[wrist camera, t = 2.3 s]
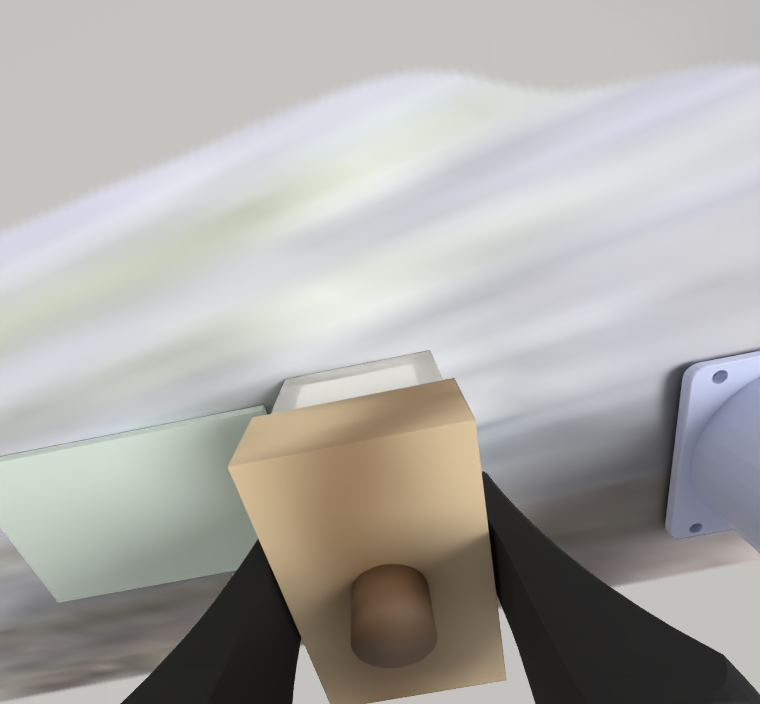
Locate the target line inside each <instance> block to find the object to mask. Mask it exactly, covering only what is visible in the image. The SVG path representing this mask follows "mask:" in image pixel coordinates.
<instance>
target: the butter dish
mask: <svg viewBox="0 0 760 704" xmlns="http://www.w3.org/2000/svg"><path fill="white" fill-rule="evenodd" d="M441 380H443V379H442V377H441V374H440V372H439V370H438V367H437V365H436V363H435V361H434V358H433V356H432V354H431V351H425V352H420V353H415V354H410V355H404V356H399V357H394V358H389V359H384V360H379V361H374V362H369V363H364V364H359V365H354V366H349V367H344V368H339V369H334V370H329V371H324V372H319V373H314V374H309V375H304V376H299V377H294V378H289V379H285V381H284V383H283V386H282V388H281V390H280V393H279V395H278V398H277V400H276V402H275V405H274V407H273V409H272V412H271V414H273V413H278V412H283V411H288V410H293V409H298V408H303V407H308V406H313V405H319V404H324V403H329V402H334V401H339V400H344V399H349V398H354V397H359V396H365V395H370V394H375V393H380V392H385V391H390V390H395V389H400V388H406V387H411V386H416V385H421V384H426V383H431V382H436V381H441Z"/></svg>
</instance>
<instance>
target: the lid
mask: <svg viewBox="0 0 760 704" xmlns="http://www.w3.org/2000/svg"><path fill="white" fill-rule="evenodd" d="M228 469H229V472H230V474H231V476H232V479H233V481H234V483H235V485H236V488H237V490H238V492H239V495H240V497H241V499H242V502H243V504H244V506H245V509H246V511H247V513H248V515H249V518H250V520H251V522H252V525H253V527H254V529H255V532H256V534H257V536H258V539H259V541H260V543H261V545H262V548H263V550H264V552H265V555H266V557H267V559H268V562H269V564H270V566H271V569H272V571H273V573H274V575H275V578H276V580H277V582H278V585H279V587H280V589H281V592H282V594H283V596H284V598H285V601H286V603H287V605H288V608H289V610H290V612H291V615H292V617H293V619H294V622H295V624H296V626H297V628H298V631H299V633H300V635H301V638H302V640H303V642H304V645H305V647H306V649H307V652H308V654H309V656H310V658H311V661H312V663H313V665H314V668H315V670H316V672H317V675H318V677H319V679H320V681H321V684H322V686H323V688H324V691H325V693H326V695H327V698H328V700H329V702H330V704H367V703H373V702H378V701H385V700H391V699H396V698H402V697H409V696H415V695H420V694H427V693H432V692H438V691H444V690H450V689H456V688H462V687H468V686H474V685H480V684H486V683H492V682H498V681H504V680H506V672H505V664H504V656H503V647H502V639H501V630H500V622H499V613H498V605H497V597H496V588H495V580H494V572H493V563H492V555H491V546H490V538H489V530H488V521H487V513H486V505H485V496H484V488H483V479H482V471H481V463H480V454H479V446H478V437H477V429H476V421H475V418H474V416H473V414H472V412H471V410H470V408H469V406H468V404H467V402H466V400H465V398H464V396H463V394H462V392H461V390H460V388H459V386H458V384H457V382H456V380H455V378H452V379H446V380H441V381H436V382H431V383H426V384H421V385H416V386H411V387H406V388H400V389H395V390H390V391H385V392H380V393H375V394H370V395H365V396H359V397H354V398H349V399H344V400H339V401H334V402H329V403H324V404H319V405H313V406H308V407H303V408H298V409H293V410H288V411H283V412H278V413H273V414H267V415H262V416H257V417H252V419H251V421H250V423H249V425H248V427H247V429H246V431H245V433H244V435H243V437H242V439H241V441H240V443H239V445H238V447H237V449H236V451H235V453H234V455H233V457H232V459H231V461H230V463H229V465H228Z"/></svg>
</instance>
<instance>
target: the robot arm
mask: <svg viewBox="0 0 760 704" xmlns="http://www.w3.org/2000/svg"><path fill="white" fill-rule="evenodd" d="M716 372H717V374H716V375H715V376H714V377H713V375H714V374H715V373H716ZM712 377H713V378H712ZM482 479H483V488H484V496H485V505H486V513H487V521H488V530H489V538H490V546H491V555H492V563H493V572H494V580H495V588H496V593H497V596H498V598H499V601H500V603H501V606H502V608H503V611H504V613H505V615H506V618H507V620H508V623H509V625H510V628H511V630H512V633H513V635H514V638H515V641H516V644H517V646H518V649H519V653H520V656H521V659H522V662H523V665H524V669H525V672H526V675H527V678H528V681H529V684H530V687H531V690H532V694H533V697H534V700H535V704H760V694H759V693H758V692H757V691H756V690H755V688H754V687H753V686H752V685H751V684H750V683H749V682H748V681H747V680H746V679H745V677H744V676H743V675H742V674H741V673H740V672H739V671H738V670H737V669H736V668H735V667H734V666H733V665H732V663H731V662H730V661H729V660H728V659H727V658H726V657H725V656H724V655H723V654H721V653H719V652H717V651H715V650H714V649H712V648H710V647H708V646H706V645H704V644H703V643H700V642H699V641H697V640H695V639H693V638H691V637H690V636H688V635H686V634H684V633H682V632H681V631H679V630H677V629H675V628H673V627H672V626H670V625H668V624H666V623H665V622H663V621H662V620H660V619H659V618H657V617H655V616H654V615H652V614H650V613H649V612H647V611H645V610H644V609H642V608H640V607H639V606H638V605H636V604H635V603H633V602H632V601H630V600H629V599H627V598H626V597H624V596H623V595H621V594H620V593H618V592H617V591H615V590H614V589H612V588H611V587H609V586H608V585H606V584H605V583H604V582H602V581H601V580H600V579H598V578H597V577H595V576H594V575H593V574H591V573H590V572H589V571H587V570H586V569H585V568H583V567H582V566H581V565H580V564H578V563H577V562H576V561H575V560H573V559H572V558H571V557H569V556H568V555H567V554H566V553H565V552H563V551H562V550H561V549H560V548H559V547H558V546H556V545H555V544H554V543H553V542H552V541H551V540H550V539H549V538H547V537H546V536H545V535H544V534H543V533H542V532H541V531H540V530H539V529H538V528H537V527H535V526H534V525H533V524H532V523H531V522H530V521H529V520H528V519H527V518H526V517H525V516H524V515H523V514H522V513H521V512H520V511H519V510H518V509H517V508H516V507H515V506H514V504H513V503H512V502H511V501H510V500H509V499H508V498H507V497H506V496H505V495H504V494H503V492H502V491H501V490H500V489H499V488H498V487H497V485H496V484H495V483H494V482H493V480H492V479H491V478H490V477H489V475H488V474H487V473H485V472H482ZM665 528H666V530H667V531H668V532H669V533H670V534H671V535H672V536H673V537H675V538H686V537H692V536H698V535H703V534H709V533H715V532H720V531H726V530H732V529H733V530H735V531H736V532H737V533H738V534H739V535H740V536H741V537H742V538H744V539H745V540H746V541H747V542H748V543H749V544H750V545H751V546H752V547H754V548H755V549H756V550H757V551H758V552H759V553H760V351H757V352H751V353H746V354H741V355H736V356H731V357H725V358H720V359H715V360H710V361H705V362H699V363H696V364H693V365H692V366H690V367H689V368H688V369H687V370H686V371H685V373H684V375H683V378H682V386H681V395H680V403H679V412H678V420H677V429H676V437H675V446H674V454H673V463H672V471H671V480H670V488H669V497H668V505H667V514H666V522H665ZM300 642H301V635H300V633H299V631H298V628H297V626H296V624H295V622H294V619H293V617H292V615H291V612H290V610H289V608H288V605H287V603H286V601H285V598H284V596H283V594H282V592H281V589H280V587H279V585H278V582H277V580H276V578H275V575H274V573H273V571H272V569H271V566H270V564H269V562H268V559H267V557H266V555H265V552H264V550H263V548H262V545H261V543H260V541H259V539H257V541H256V542H255V544H254V546H253V547H252V549H251V550H250V552H249V553H248V555H247V556H246V558H245V559H244V561H243V562H242V564H241V565H240V567H239V568H238V569H237V571H236V572H235V574H234V575H233V577H232V578H231V579H230V581H229V582H228V583H227V585H226V586H225V588H224V589H223V590H222V592H221V593H220V594H219V596H218V597H217V599H216V600H215V601H214V603H213V604H212V605H211V606H210V608H209V609H208V610H207V611H206V613H205V614H204V615H203V616H202V618H201V619H200V620H199V621H198V623H197V624H196V625H195V626H194V627H193V628H192V630H191V631H190V632H189V633H188V634H187V635H186V637H185V638H184V639H183V640H182V641H181V642H180V643H179V644H178V645H177V647H176V648H175V649H174V650H173V651H172V652H171V653H170V654H169V655H168V656H167V657H166V658H165V659H164V660H163V662H162V663H161V664H160V665H159V666H158V667H157V668H156V669H155V670H154V671H153V672H152V673H151V674H150V675H149V676H148V677H147V678H146V679H145V681H144V682H142V683H141V684H140V685H139V686H138V687H137V688H136V689H135V690H134V691H133V692H132V693H131V694H130V695H129V696H128V697H127V698H126V699H125V700H124V701H123V702H122V703H121V704H292V701H293V689H294V681H295V673H296V666H297V660H298V654H299V648H300Z"/></svg>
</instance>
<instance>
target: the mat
mask: <svg viewBox="0 0 760 704" xmlns="http://www.w3.org/2000/svg"><path fill="white" fill-rule="evenodd" d="M262 415H267V412H266V409H265V406H264V405H261V406H256V407H251V408H245V409H240V410H235V411H230V412H225V413H220V414H215V415H210V416H205V417H200V418H195V419H189V420H184V421H179V422H174V423H169V424H164V425H159V426H154V427H149V428H144V429H139V430H133V431H128V432H123V433H118V434H113V435H108V436H103V437H98V438H93V439H88V440H83V441H78V442H72V443H67V444H62V445H57V446H52V447H47V448H42V449H37V450H32V451H27V452H22V453H16V454H11V455H6V456H1V457H0V528H1V530H2V531H3V532H4V534H5V535H6V536H7V537H8V539H9V540H10V541H11V543H12V544H13V545H14V546H15V548H16V549H17V550H18V552H19V553H20V554H21V555H22V557H23V558H24V559H25V561H26V562H27V563H28V565H29V566H30V567H31V568H32V570H33V571H34V572H35V574H36V575H37V576H38V577H39V579H40V580H41V581H42V583H43V584H44V585H45V587H46V588H47V589H48V590H49V592H50V593H51V594H52V596H53V597H54V598H55V599H56V601H57V602H58V603H60V602H66V601H71V600H77V599H82V598H88V597H93V596H99V595H104V594H110V593H115V592H121V591H126V590H132V589H137V588H143V587H148V586H154V585H159V584H165V583H170V582H176V581H181V580H187V579H192V578H198V577H203V576H209V575H214V574H220V573H225V572H231V571H236V570H237V569H238V568H239V567H240V565H241V564H242V562H243V561H244V559H245V558H246V556H247V555H248V553H249V552H250V550H251V549H252V547H253V546H254V544H255V542H256V541H257V539H258V536H257V534H256V532H255V529H254V527H253V525H252V522H251V520H250V518H249V515H248V513H247V511H246V509H245V506H244V504H243V502H242V499H241V497H240V495H239V492H238V490H237V488H236V485H235V483H234V481H233V479H232V476H231V474H230V472H229V469H228V465H229V463H230V461H231V459H232V457H233V455H234V453H235V451H236V449H237V447H238V445H239V443H240V441H241V439H242V437H243V435H244V433H245V431H246V429H247V427H248V425H249V423H250V421H251V419H252V417H257V416H262Z"/></svg>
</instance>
